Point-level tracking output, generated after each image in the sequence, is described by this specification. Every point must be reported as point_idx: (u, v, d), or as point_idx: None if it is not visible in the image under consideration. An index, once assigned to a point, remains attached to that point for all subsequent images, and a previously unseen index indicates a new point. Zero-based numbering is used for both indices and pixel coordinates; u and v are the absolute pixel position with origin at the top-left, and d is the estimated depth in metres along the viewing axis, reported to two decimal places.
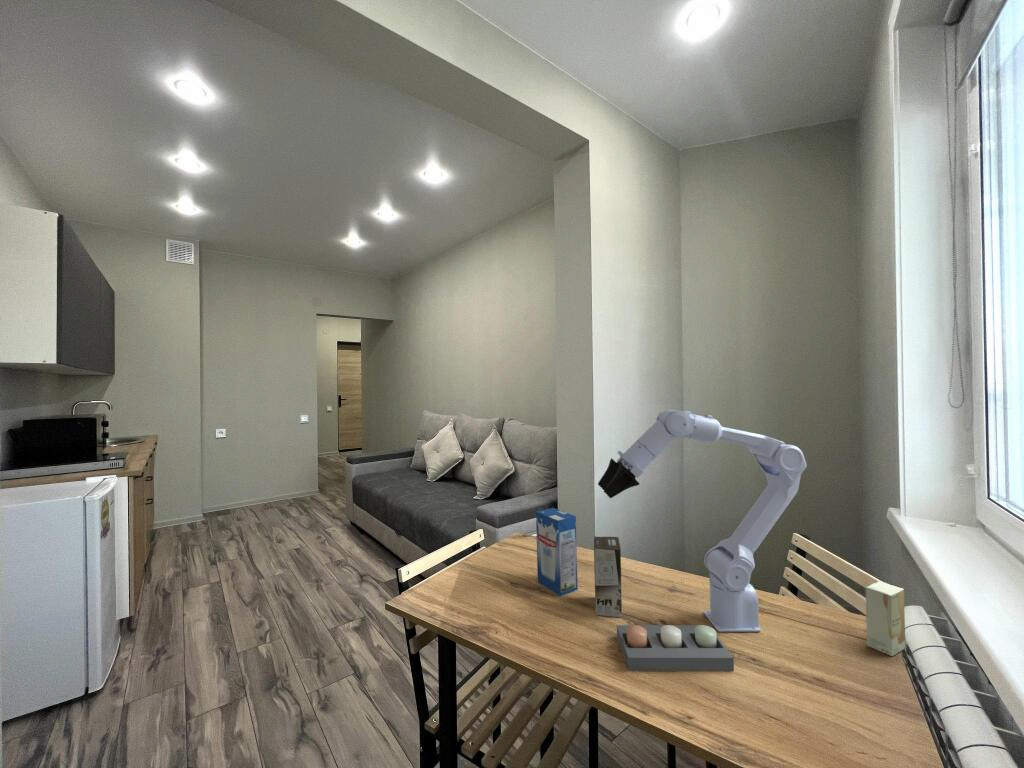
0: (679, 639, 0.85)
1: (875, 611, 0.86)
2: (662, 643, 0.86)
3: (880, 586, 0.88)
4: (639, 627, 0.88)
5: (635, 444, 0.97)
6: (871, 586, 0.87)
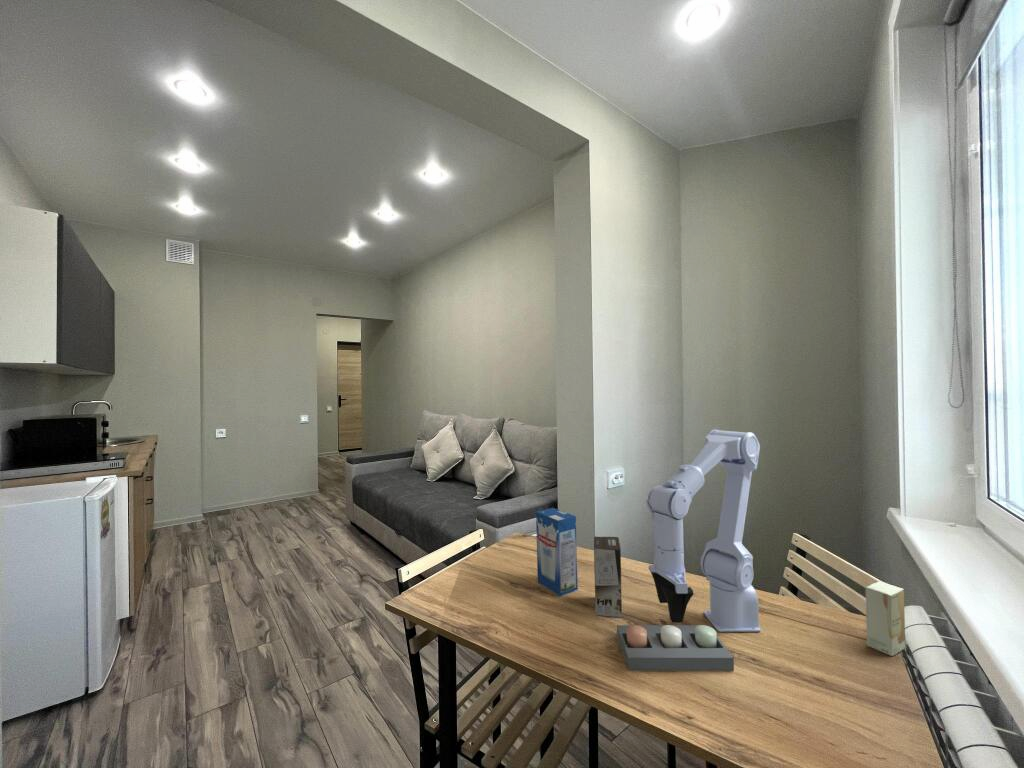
0: (679, 639, 0.85)
1: (875, 611, 0.86)
2: (662, 643, 0.86)
3: (880, 586, 0.88)
4: (639, 627, 0.88)
5: (656, 551, 0.86)
6: (871, 586, 0.87)
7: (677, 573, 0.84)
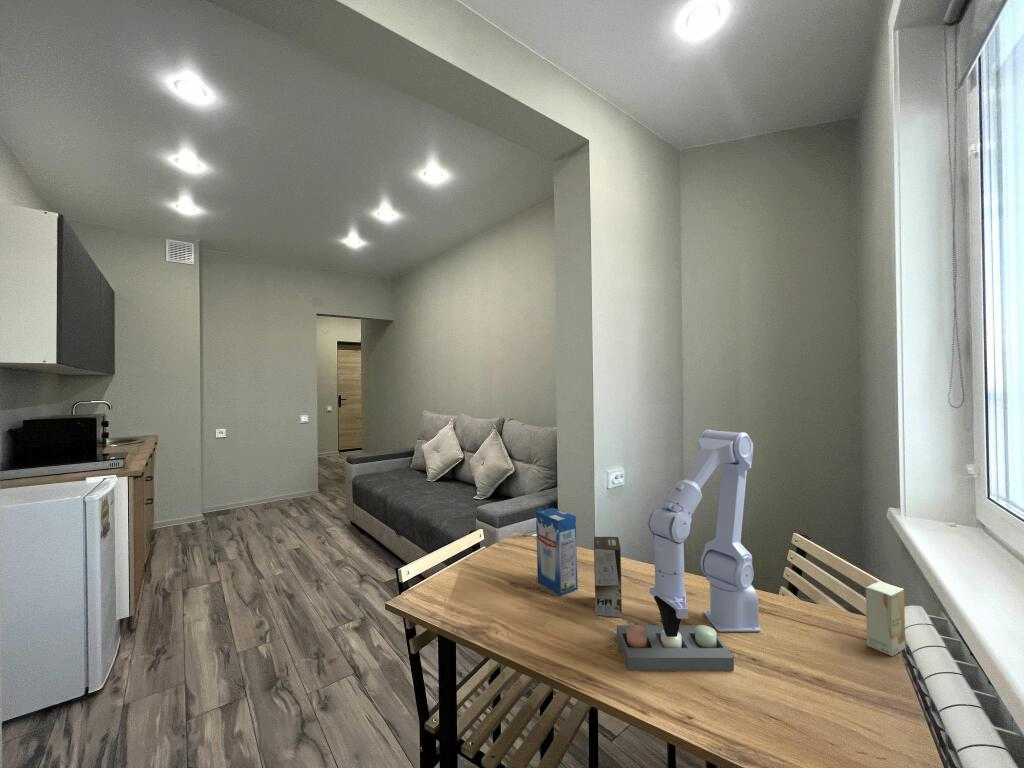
0: (679, 643, 0.85)
1: (875, 611, 0.86)
2: None
3: (880, 586, 0.88)
4: (639, 627, 0.88)
5: (657, 574, 0.86)
6: (871, 586, 0.87)
7: (678, 597, 0.84)
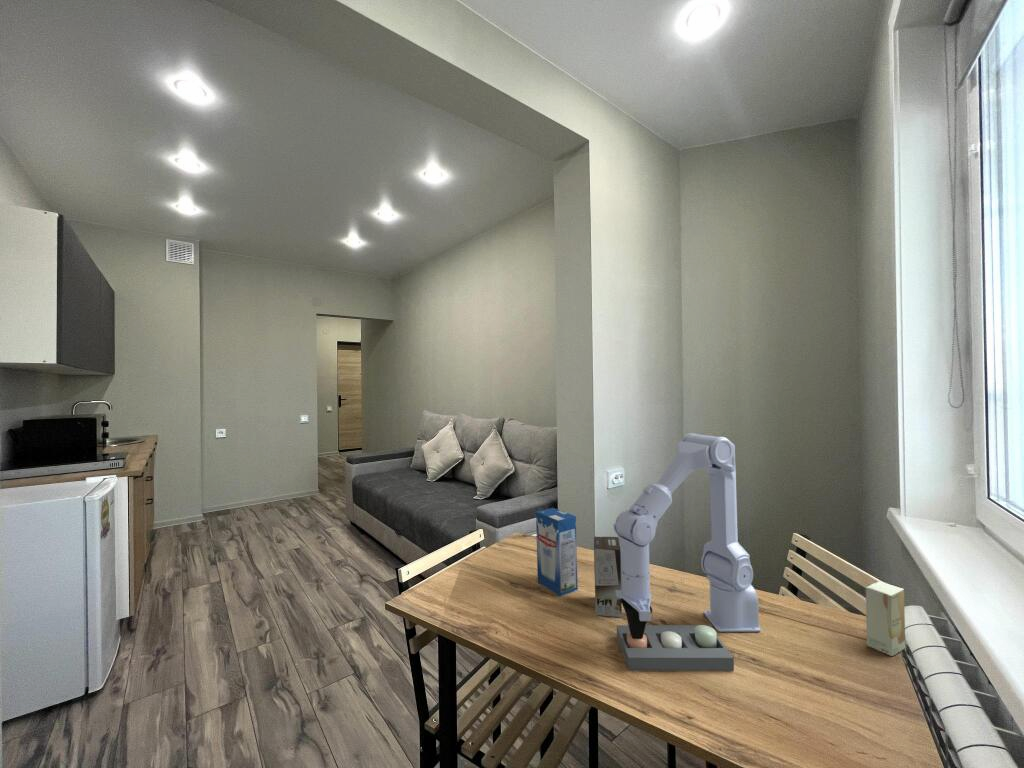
0: (679, 645, 0.85)
1: (875, 611, 0.86)
2: None
3: (880, 586, 0.88)
4: None
5: (622, 577, 0.86)
6: (871, 586, 0.87)
7: (642, 599, 0.84)
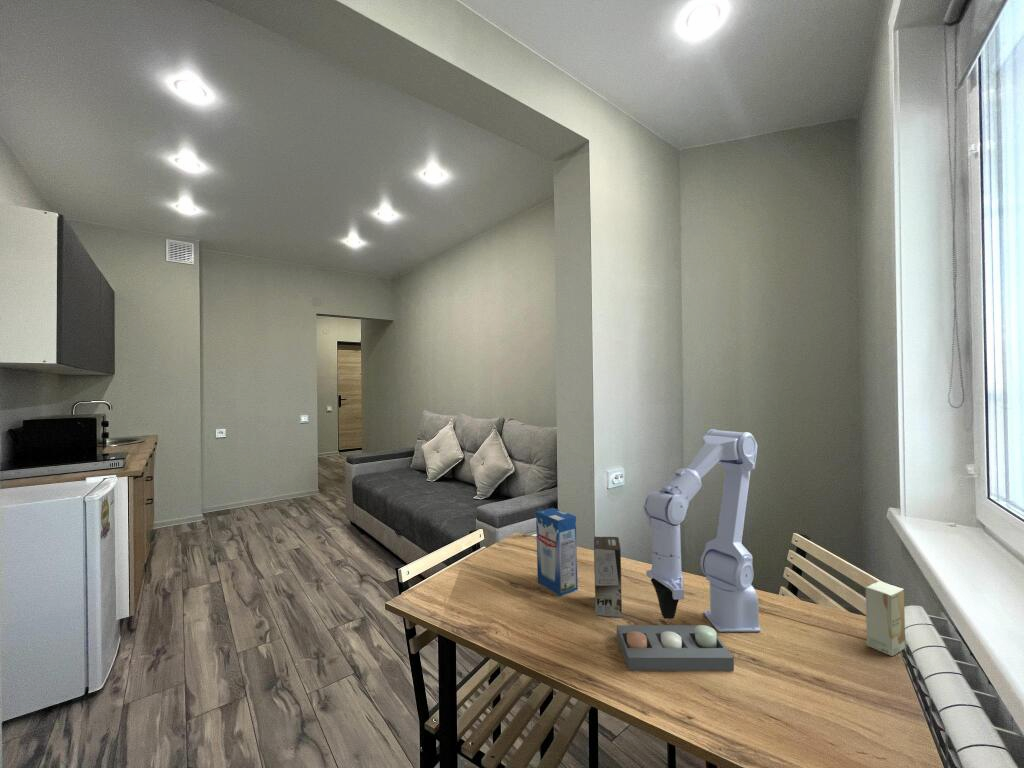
0: (679, 645, 0.85)
1: (875, 611, 0.86)
2: None
3: (880, 586, 0.88)
4: (639, 633, 0.88)
5: (653, 557, 0.86)
6: (871, 586, 0.87)
7: (674, 579, 0.84)
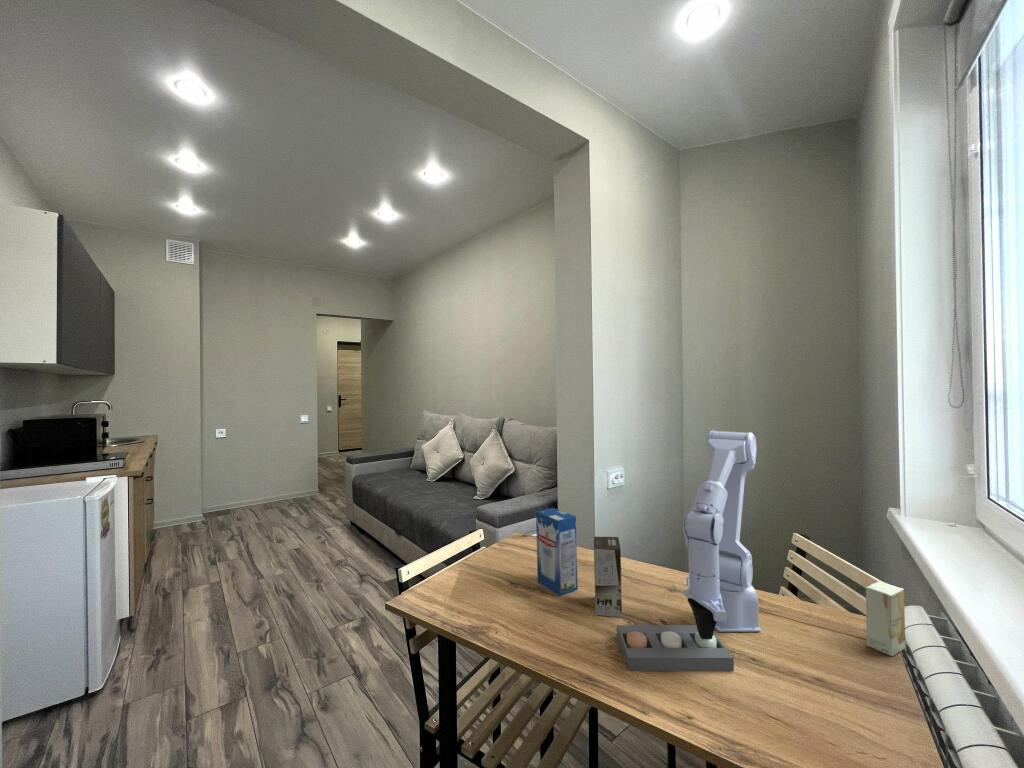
0: (679, 645, 0.85)
1: (875, 611, 0.86)
2: None
3: (880, 586, 0.88)
4: (639, 633, 0.88)
5: (692, 577, 0.86)
6: (871, 586, 0.87)
7: (713, 599, 0.83)
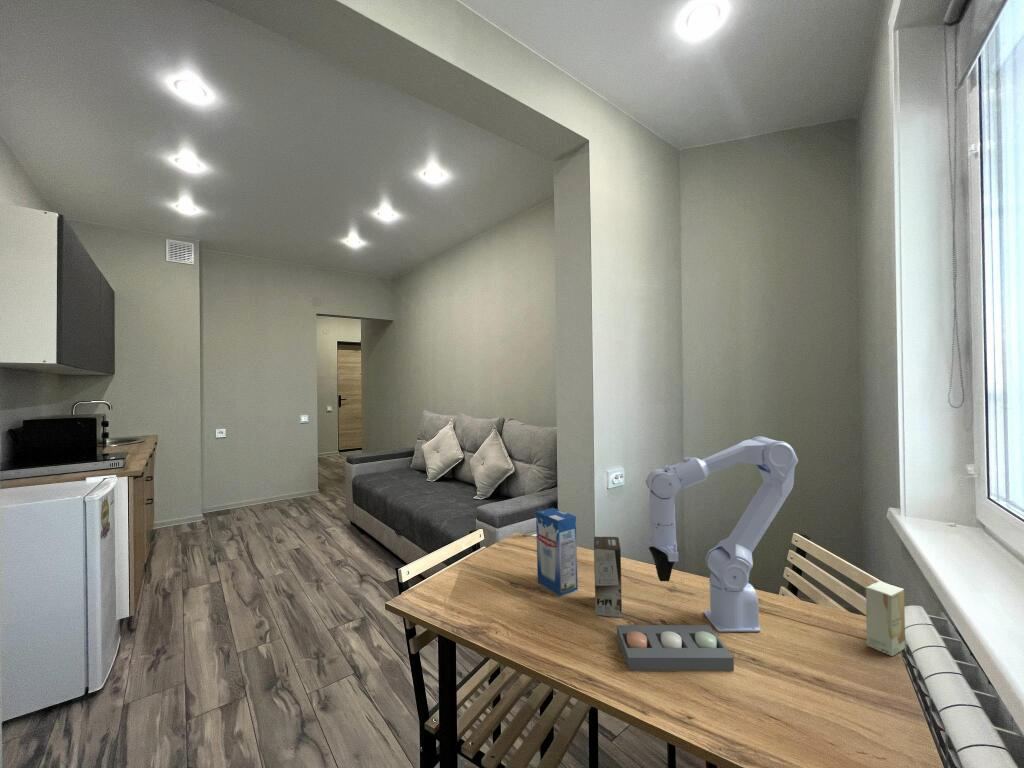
0: (679, 645, 0.85)
1: (875, 611, 0.86)
2: None
3: (880, 586, 0.88)
4: (639, 633, 0.88)
5: (651, 526, 0.98)
6: (871, 586, 0.87)
7: (669, 545, 0.96)
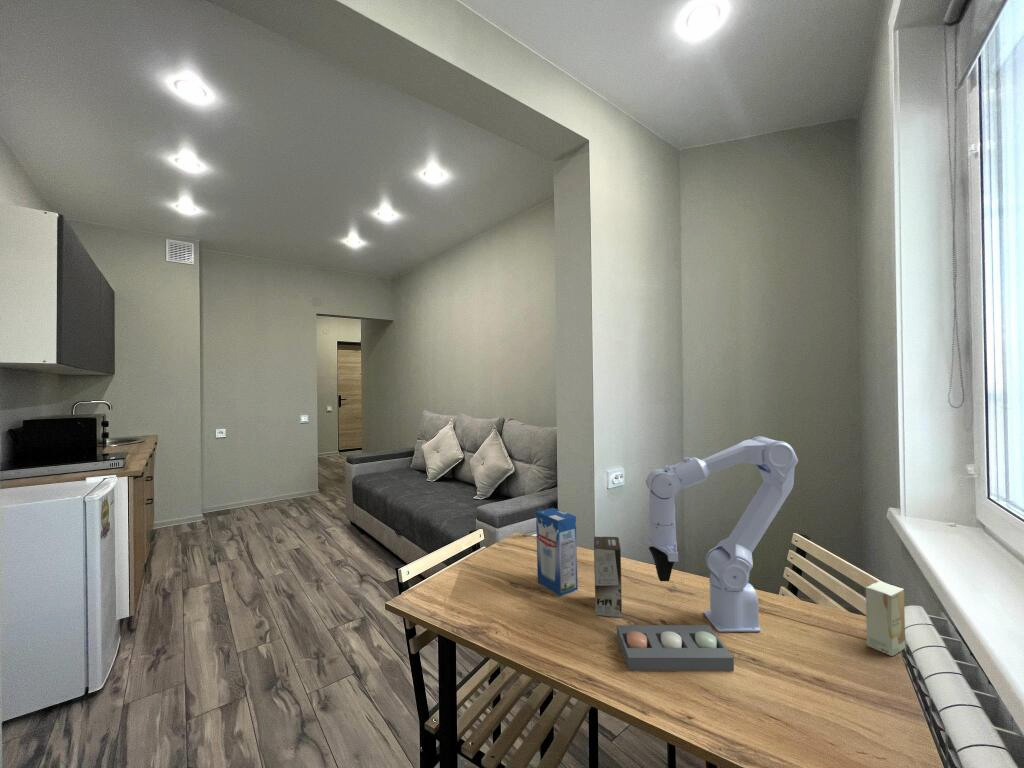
0: (679, 645, 0.85)
1: (875, 611, 0.86)
2: None
3: (880, 586, 0.88)
4: (639, 633, 0.88)
5: (651, 526, 0.98)
6: (871, 586, 0.87)
7: (669, 545, 0.96)
